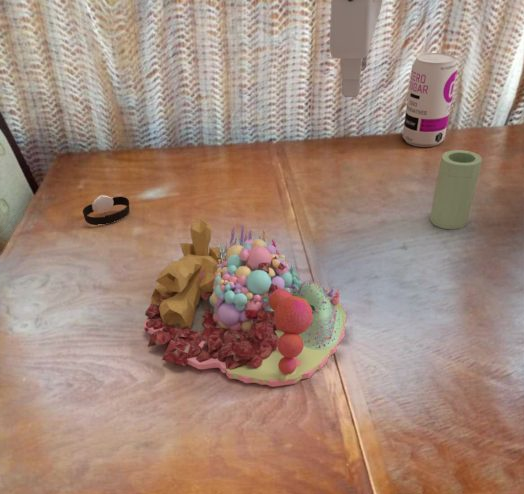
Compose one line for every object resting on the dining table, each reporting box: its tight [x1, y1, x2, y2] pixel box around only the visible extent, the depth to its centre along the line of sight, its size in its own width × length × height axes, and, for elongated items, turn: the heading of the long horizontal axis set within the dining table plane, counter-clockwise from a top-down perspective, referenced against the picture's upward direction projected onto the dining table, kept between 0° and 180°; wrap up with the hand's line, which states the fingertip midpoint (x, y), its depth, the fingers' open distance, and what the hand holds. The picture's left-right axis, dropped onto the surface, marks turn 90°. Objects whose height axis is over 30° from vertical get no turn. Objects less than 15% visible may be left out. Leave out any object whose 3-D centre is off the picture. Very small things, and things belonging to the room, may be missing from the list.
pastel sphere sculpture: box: [142, 220, 347, 388], centre depth 65 cm, size 25×24×9 cm
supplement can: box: [402, 52, 459, 148], centre depth 103 cm, size 8×8×15 cm
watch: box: [82, 194, 131, 226], centre depth 87 cm, size 8×5×4 cm, turn 124°
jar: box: [429, 149, 483, 230], centre depth 80 cm, size 6×6×10 cm
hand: (354, 81), depth 61 cm, fingers open, 8 cm apart
